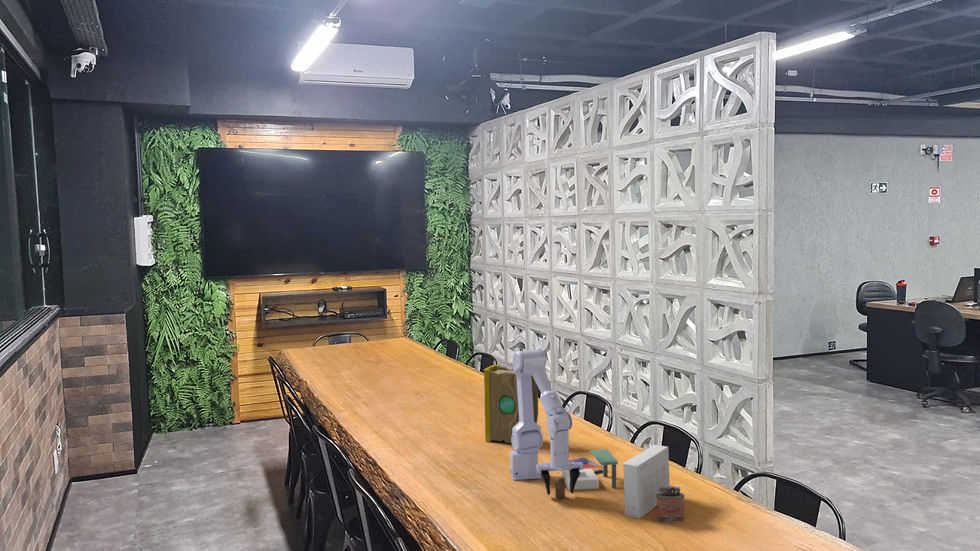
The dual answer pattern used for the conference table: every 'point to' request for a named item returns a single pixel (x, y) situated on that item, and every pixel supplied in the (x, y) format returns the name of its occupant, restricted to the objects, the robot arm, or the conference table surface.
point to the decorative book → (503, 403)
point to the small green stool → (606, 463)
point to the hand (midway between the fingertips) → (560, 492)
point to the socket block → (582, 479)
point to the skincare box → (645, 480)
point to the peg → (560, 487)
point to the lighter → (670, 504)
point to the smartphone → (589, 465)
